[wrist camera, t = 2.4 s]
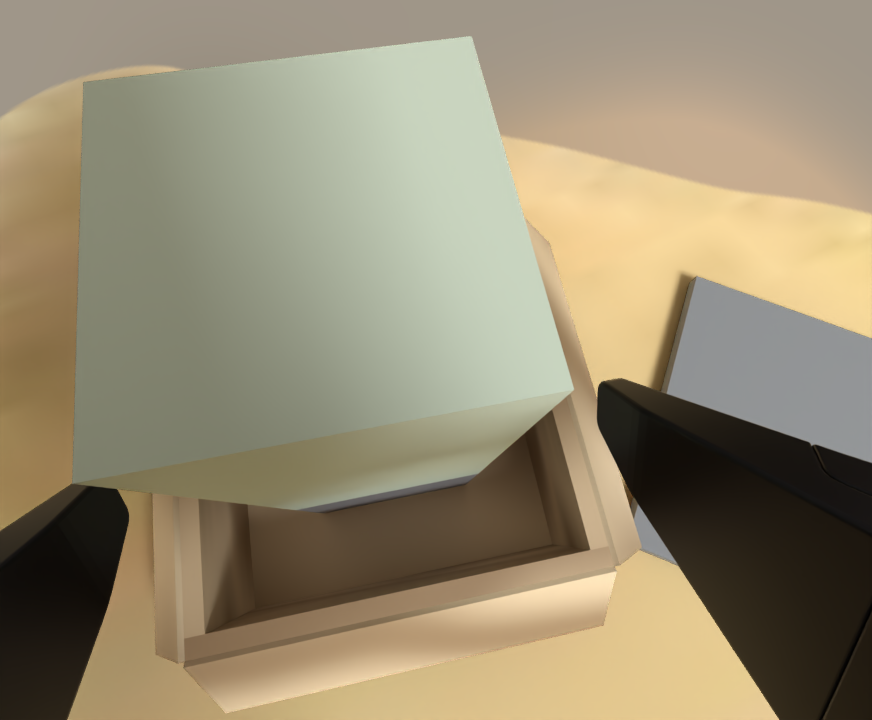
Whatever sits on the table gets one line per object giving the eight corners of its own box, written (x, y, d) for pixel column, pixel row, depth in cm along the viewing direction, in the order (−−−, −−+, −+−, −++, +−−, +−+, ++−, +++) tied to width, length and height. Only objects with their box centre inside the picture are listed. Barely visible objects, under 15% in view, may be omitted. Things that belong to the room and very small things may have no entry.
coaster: (938, 673, 17) (957, 678, 16) (621, 542, 18) (628, 542, 17) (957, 379, 20) (973, 374, 19) (689, 282, 21) (696, 276, 20)
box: (465, 484, 18) (574, 389, 5) (323, 513, 17) (73, 483, 5) (437, 352, 19) (471, 35, 7) (306, 375, 19) (82, 81, 6)
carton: (632, 601, 17) (706, 628, 13) (191, 703, 16) (103, 771, 11) (526, 232, 21) (553, 157, 17) (174, 287, 20) (107, 221, 16)
